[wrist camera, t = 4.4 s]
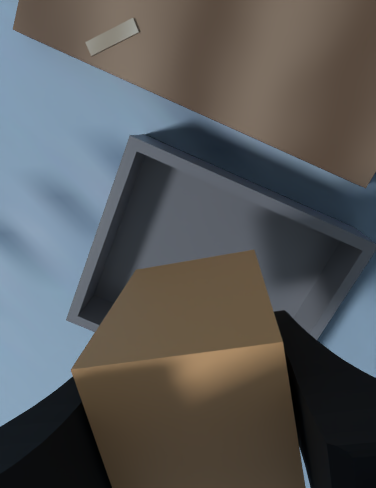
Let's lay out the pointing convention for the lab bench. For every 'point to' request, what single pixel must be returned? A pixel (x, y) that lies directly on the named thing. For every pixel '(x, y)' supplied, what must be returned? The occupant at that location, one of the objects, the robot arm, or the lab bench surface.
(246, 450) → the stop block
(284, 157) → the lab bench surface
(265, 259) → the tray
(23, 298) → the lab bench surface
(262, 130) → the crank board
